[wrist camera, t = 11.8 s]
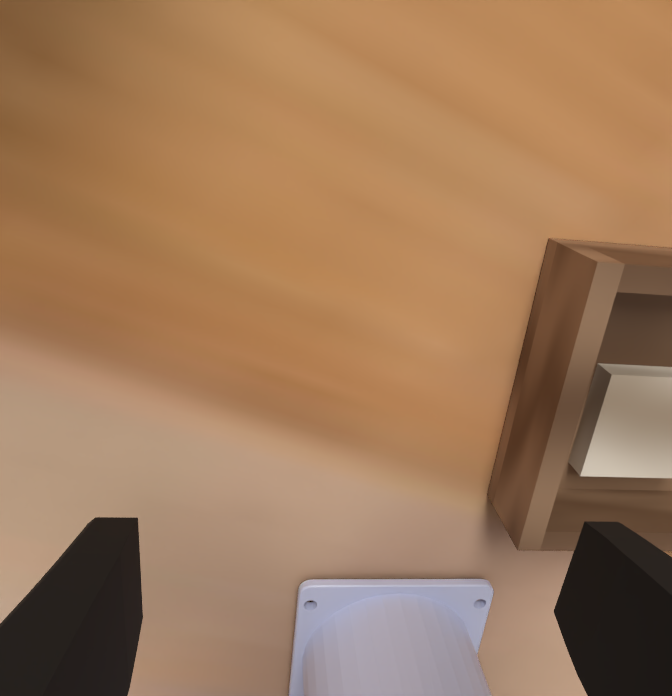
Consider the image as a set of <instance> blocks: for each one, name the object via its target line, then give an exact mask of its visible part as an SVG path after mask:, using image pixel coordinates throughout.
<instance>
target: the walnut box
mask: <svg viewBox="0 0 672 696" xmlns="http://www.w3.org/2000/svg"><path fill="white" fill-rule="evenodd" d="M487 495H488V497H489V499H490V501H491V503H492V504H493V506H494V508H495V510H496V512H497V514H498V515H499V517H500V519H501V521H502V523H503V525H504V526H505V528H506V530H507V532H508V534H509V536H510V537H511V539H512V541H513V543H514V545H515V547H516V548H517V550H535V551H575V548H576V545H577V542H578V539H579V536H580V533H581V530H582V527H583V524H584V521H596V522H620V523H621V524H623V525H624V526H626V527H628V528H629V529H631V530H632V531H634V532H635V533H637V534H638V535H640V536H641V537H643V538H644V539H646V540H647V541H649V542H650V543H652V544H653V545H655V546H656V547H657V548H659V549H660V550H662V551H672V248H666V247H654V246H641V245H628V244H616V243H603V242H591V241H578V240H565V239H553V238H549V241H548V245H547V249H546V253H545V257H544V261H543V266H542V270H541V274H540V278H539V282H538V286H537V290H536V295H535V299H534V303H533V307H532V311H531V315H530V320H529V324H528V328H527V332H526V336H525V340H524V344H523V349H522V353H521V357H520V361H519V365H518V369H517V374H516V378H515V382H514V386H513V390H512V394H511V398H510V403H509V407H508V411H507V415H506V419H505V423H504V428H503V432H502V436H501V440H500V444H499V448H498V452H497V457H496V461H495V465H494V469H493V473H492V477H491V482H490V486H489V490H488V494H487Z"/></svg>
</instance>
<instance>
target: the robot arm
mask: <svg viewBox="0 0 672 696" xmlns="http://www.w3.org/2000/svg"><path fill="white" fill-rule="evenodd" d="M493 594H494V590H493V588H492V586H491V584H490V582H489V581H488V580H485V579H311V580H306V581H304V582H302V583H301V585H300V586H299V589H298V599H297V609H296V620H295V631H294V641H293V652H292V663H291V673H290V684H289V695H288V696H492V695H491V692H490V689H489V687H488V684H487V681H486V679H485V676H484V673H483V670H482V668H481V665H480V662H479V660H478V657H477V654H478V650H479V646H480V642H481V639H482V635H483V631H484V627H485V624H486V620H487V616H488V613H489V609H490V605H491V601H492V598H493ZM479 599H480V600H479ZM310 600H312V601H313V602H307V601H310ZM477 600H479V601H477ZM554 613H555V616H556V619H557V622H558V624H559V627H560V630H561V633H562V636H563V639H564V641H565V644H566V647H567V649H568V652H569V654H570V657H571V660H572V662H573V665H574V667H575V670H576V672H577V675H578V677H579V679H580V681H581V683H582V685H583V687H584V689H585V691H586V693H587V695H588V696H672V557H670V556H669V555H667V554H666V553H665V552H663V551H662V550H660V549H659V548H657V547H656V546H655V545H653V544H652V543H650V542H649V541H647V540H646V539H644V538H643V537H641V536H640V535H638V534H637V533H635V532H634V531H632V530H631V529H629V528H628V527H626V526H624V525H623V524H621V523H620V522H596V521H584V524H583V527H582V530H581V533H580V536H579V539H578V542H577V545H576V548H575V551H574V554H573V557H572V559H571V562H570V565H569V568H568V571H567V574H566V577H565V580H564V583H563V586H562V589H561V592H560V595H559V598H558V600H557V603H556V606H555V609H554ZM142 619H143V612H142V592H141V572H140V552H139V532H138V518H94V519H93V520H92V521H91V522H89V523H88V524H87V526H86V527H85V528H84V529H83V530H82V532H81V533H80V534H79V535H78V536H77V538H76V539H75V540H74V541H73V542H72V544H71V545H70V546H69V547H68V548H67V550H66V551H65V552H64V553H63V554H62V556H61V557H60V558H59V559H58V560H57V561H56V563H55V564H54V565H53V566H52V567H51V568H50V569H49V571H48V572H47V573H46V574H45V575H44V576H43V577H42V579H41V580H40V581H39V582H38V583H37V584H36V585H35V587H34V588H33V589H32V590H31V591H30V592H29V593H28V594H27V596H26V597H25V598H24V599H23V600H22V601H21V602H20V603H19V604H18V605H17V606H16V607H15V608H14V610H13V611H12V612H11V613H10V614H9V615H8V616H7V617H6V618H5V619H4V620H3V621H2V623H1V624H0V696H127V695H128V691H129V688H130V682H131V677H132V672H133V667H134V662H135V657H136V652H137V646H138V641H139V635H140V630H141V624H142Z"/></svg>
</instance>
